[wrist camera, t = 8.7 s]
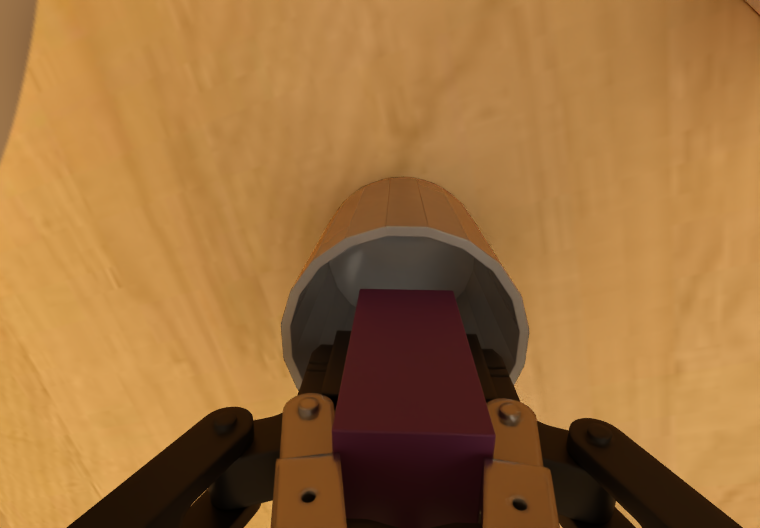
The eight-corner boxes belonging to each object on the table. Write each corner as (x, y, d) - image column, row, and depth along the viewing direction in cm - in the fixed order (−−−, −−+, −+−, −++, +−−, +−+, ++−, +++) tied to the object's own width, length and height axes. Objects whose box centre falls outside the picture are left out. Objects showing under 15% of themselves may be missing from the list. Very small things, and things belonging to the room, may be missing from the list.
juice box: (359, 287, 15) (312, 522, 7) (453, 290, 15) (525, 529, 7) (360, 390, 17) (323, 690, 8) (446, 392, 17) (497, 698, 8)
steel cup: (321, 175, 24) (272, 224, 14) (485, 177, 23) (544, 228, 14) (327, 320, 27) (289, 439, 17) (472, 324, 26) (513, 446, 17)
